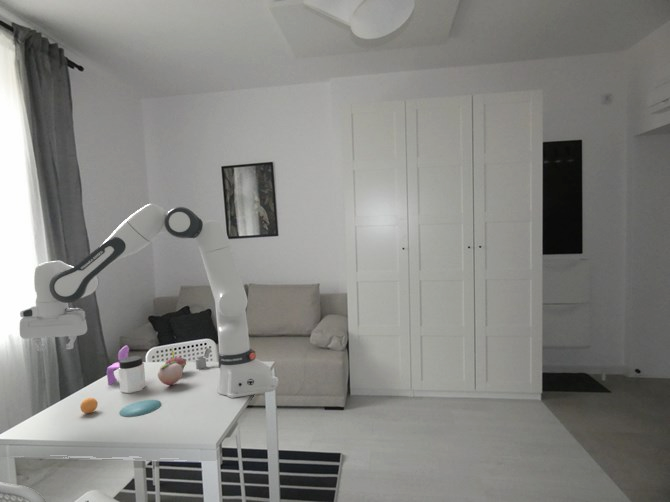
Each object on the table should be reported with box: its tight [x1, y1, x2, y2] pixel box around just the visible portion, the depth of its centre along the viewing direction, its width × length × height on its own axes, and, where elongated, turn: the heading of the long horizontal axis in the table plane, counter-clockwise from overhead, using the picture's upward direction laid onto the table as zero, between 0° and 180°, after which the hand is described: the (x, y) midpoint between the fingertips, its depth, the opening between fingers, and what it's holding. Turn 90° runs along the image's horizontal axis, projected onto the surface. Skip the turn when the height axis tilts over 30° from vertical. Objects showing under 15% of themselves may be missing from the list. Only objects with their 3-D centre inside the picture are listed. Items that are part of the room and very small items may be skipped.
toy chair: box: [106, 345, 130, 386], centre depth 166 cm, size 8×9×15 cm
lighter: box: [195, 347, 212, 370], centre depth 179 cm, size 7×2×8 cm, turn 143°
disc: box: [118, 399, 162, 418], centre depth 138 cm, size 13×13×1 cm
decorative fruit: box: [157, 361, 184, 387], centre depth 158 cm, size 9×8×10 cm
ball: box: [79, 397, 99, 414], centre depth 137 cm, size 5×5×5 cm
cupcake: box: [164, 348, 187, 370], centre depth 172 cm, size 9×8×12 cm
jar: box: [117, 355, 147, 394], centre depth 157 cm, size 9×8×12 cm
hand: (55, 349), depth 136 cm, fingers open, 8 cm apart
